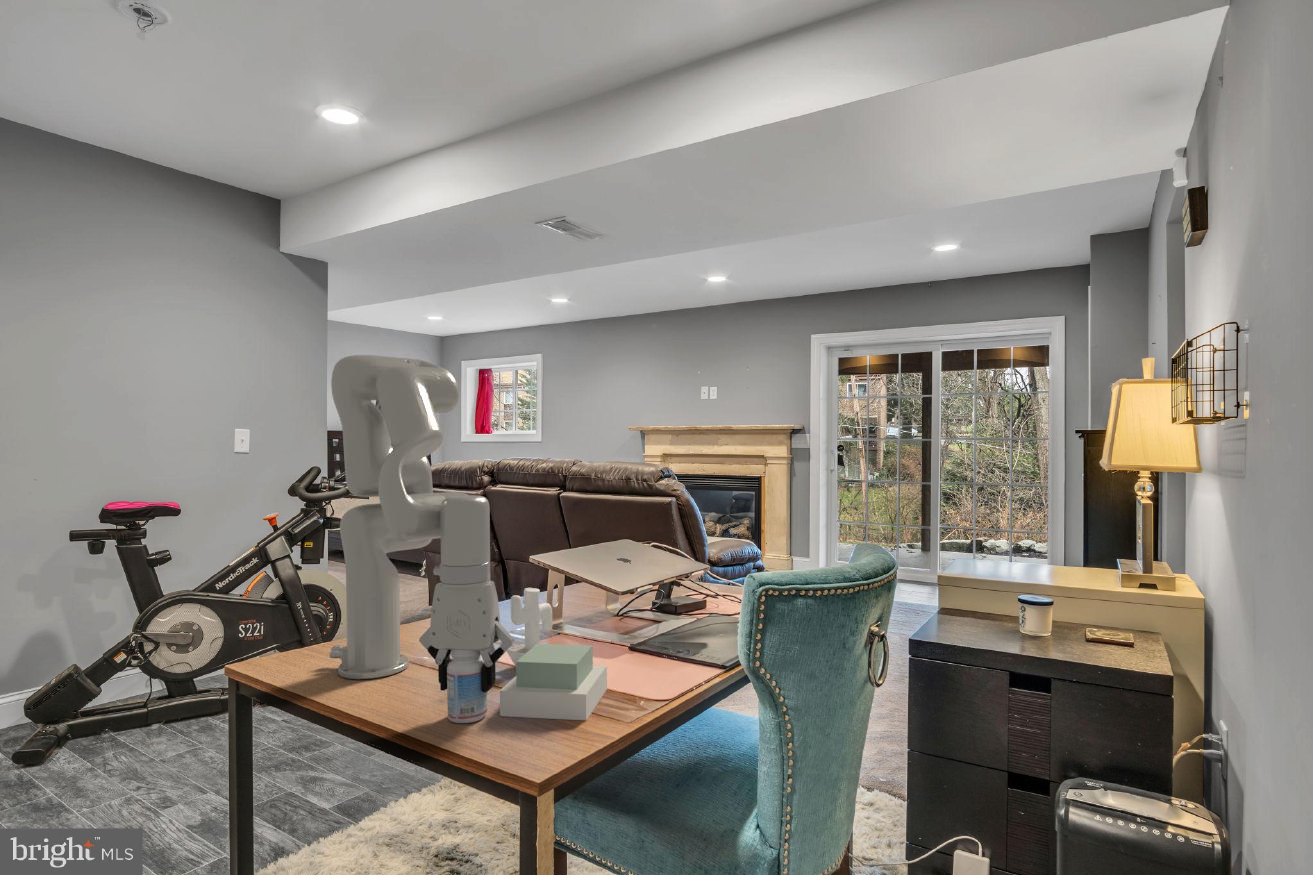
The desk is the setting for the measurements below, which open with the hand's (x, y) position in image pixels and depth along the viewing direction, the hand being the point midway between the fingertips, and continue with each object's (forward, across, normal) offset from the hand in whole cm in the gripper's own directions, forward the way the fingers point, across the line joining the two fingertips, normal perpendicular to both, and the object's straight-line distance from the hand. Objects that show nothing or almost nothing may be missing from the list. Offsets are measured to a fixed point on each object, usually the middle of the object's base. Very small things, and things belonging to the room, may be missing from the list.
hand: (467, 687), depth 110 cm
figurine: (+5, +2, +25) cm, 26 cm away
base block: (+5, +12, +8) cm, 15 cm away
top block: (+1, +12, +8) cm, 14 cm away
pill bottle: (+5, 0, 0) cm, 5 cm away
